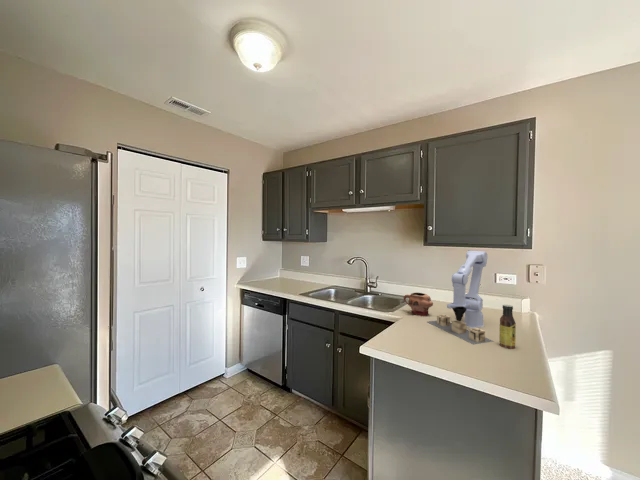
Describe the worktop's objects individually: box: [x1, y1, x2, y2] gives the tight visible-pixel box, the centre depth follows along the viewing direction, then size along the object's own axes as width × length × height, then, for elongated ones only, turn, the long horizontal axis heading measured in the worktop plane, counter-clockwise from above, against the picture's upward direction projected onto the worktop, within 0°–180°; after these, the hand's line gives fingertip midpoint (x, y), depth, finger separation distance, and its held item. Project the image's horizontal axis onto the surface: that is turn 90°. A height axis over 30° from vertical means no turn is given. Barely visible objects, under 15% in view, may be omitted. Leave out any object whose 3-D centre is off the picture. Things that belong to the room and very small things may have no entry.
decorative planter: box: [403, 292, 434, 317], centre depth 178 cm, size 20×12×14 cm, turn 51°
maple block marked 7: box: [468, 327, 486, 342], centre depth 134 cm, size 5×5×5 cm
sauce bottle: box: [498, 304, 517, 350], centre depth 127 cm, size 6×6×20 cm
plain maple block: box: [451, 320, 467, 334], centre depth 145 cm, size 5×5×5 cm
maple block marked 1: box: [436, 313, 451, 326], centre depth 156 cm, size 5×5×5 cm
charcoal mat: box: [426, 320, 494, 345], centre depth 147 cm, size 13×34×1 cm, turn 17°
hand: (458, 320), depth 145 cm, fingers closed
